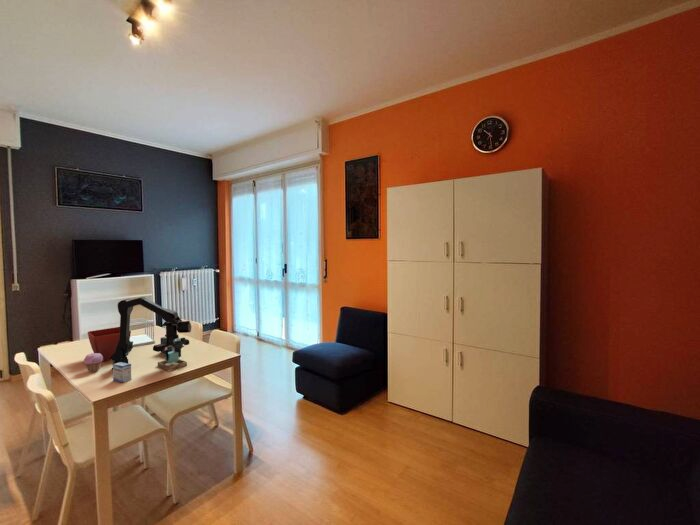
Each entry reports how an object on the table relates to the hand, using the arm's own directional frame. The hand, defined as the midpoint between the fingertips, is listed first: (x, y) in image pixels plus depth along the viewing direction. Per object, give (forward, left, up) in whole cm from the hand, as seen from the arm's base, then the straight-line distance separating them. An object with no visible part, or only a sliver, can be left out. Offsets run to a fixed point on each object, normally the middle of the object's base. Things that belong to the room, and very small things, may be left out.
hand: (172, 359), depth 196 cm
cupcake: (-29, +28, -4) cm, 41 cm away
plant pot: (-14, +47, -4) cm, 50 cm away
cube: (0, 0, -1) cm, 1 cm away
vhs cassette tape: (+11, +22, -4) cm, 25 cm away
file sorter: (+13, +71, -4) cm, 73 cm away
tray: (0, 0, -4) cm, 4 cm away
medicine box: (-26, 0, -4) cm, 26 cm away
